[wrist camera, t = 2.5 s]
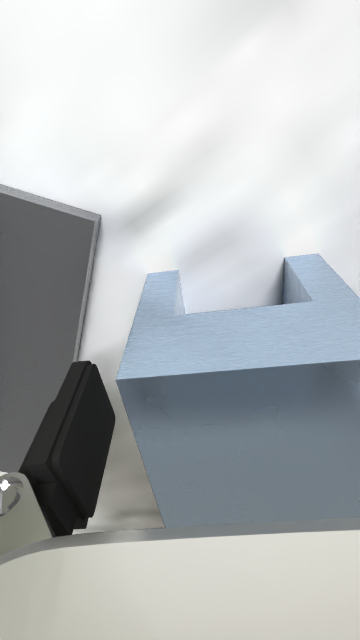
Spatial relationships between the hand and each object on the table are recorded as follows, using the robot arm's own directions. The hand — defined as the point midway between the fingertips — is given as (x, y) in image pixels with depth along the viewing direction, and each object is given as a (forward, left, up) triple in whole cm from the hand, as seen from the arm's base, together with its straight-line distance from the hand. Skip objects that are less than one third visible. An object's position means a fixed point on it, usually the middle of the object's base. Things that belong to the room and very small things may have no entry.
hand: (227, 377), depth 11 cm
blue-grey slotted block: (-1, 0, -3) cm, 3 cm away
